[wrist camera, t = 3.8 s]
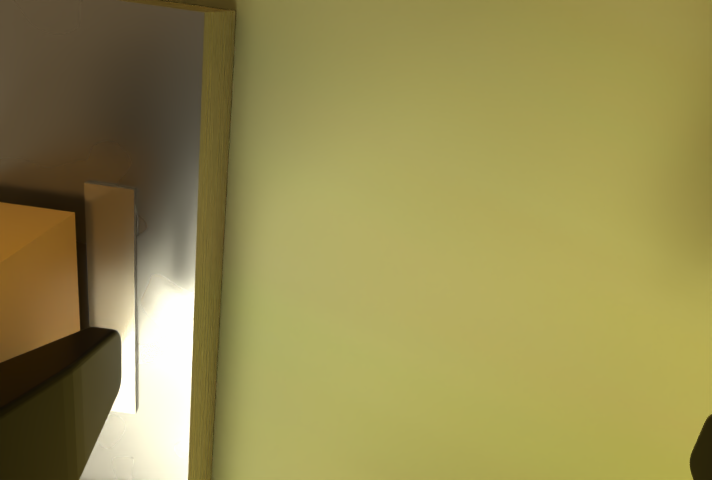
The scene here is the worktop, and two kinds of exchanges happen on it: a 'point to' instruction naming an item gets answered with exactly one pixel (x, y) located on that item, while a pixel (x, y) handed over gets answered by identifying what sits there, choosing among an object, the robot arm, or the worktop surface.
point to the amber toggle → (36, 278)
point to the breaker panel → (131, 199)
